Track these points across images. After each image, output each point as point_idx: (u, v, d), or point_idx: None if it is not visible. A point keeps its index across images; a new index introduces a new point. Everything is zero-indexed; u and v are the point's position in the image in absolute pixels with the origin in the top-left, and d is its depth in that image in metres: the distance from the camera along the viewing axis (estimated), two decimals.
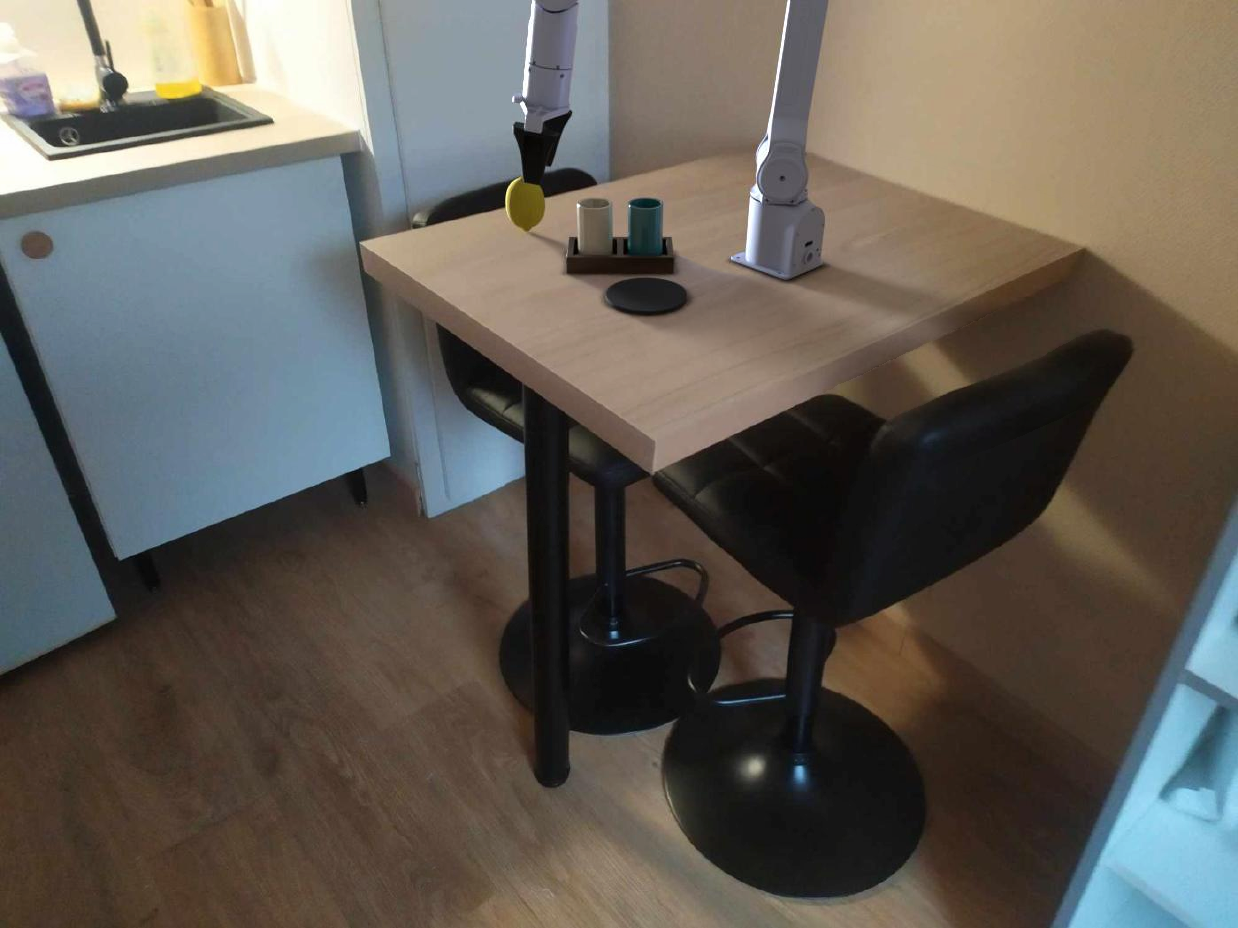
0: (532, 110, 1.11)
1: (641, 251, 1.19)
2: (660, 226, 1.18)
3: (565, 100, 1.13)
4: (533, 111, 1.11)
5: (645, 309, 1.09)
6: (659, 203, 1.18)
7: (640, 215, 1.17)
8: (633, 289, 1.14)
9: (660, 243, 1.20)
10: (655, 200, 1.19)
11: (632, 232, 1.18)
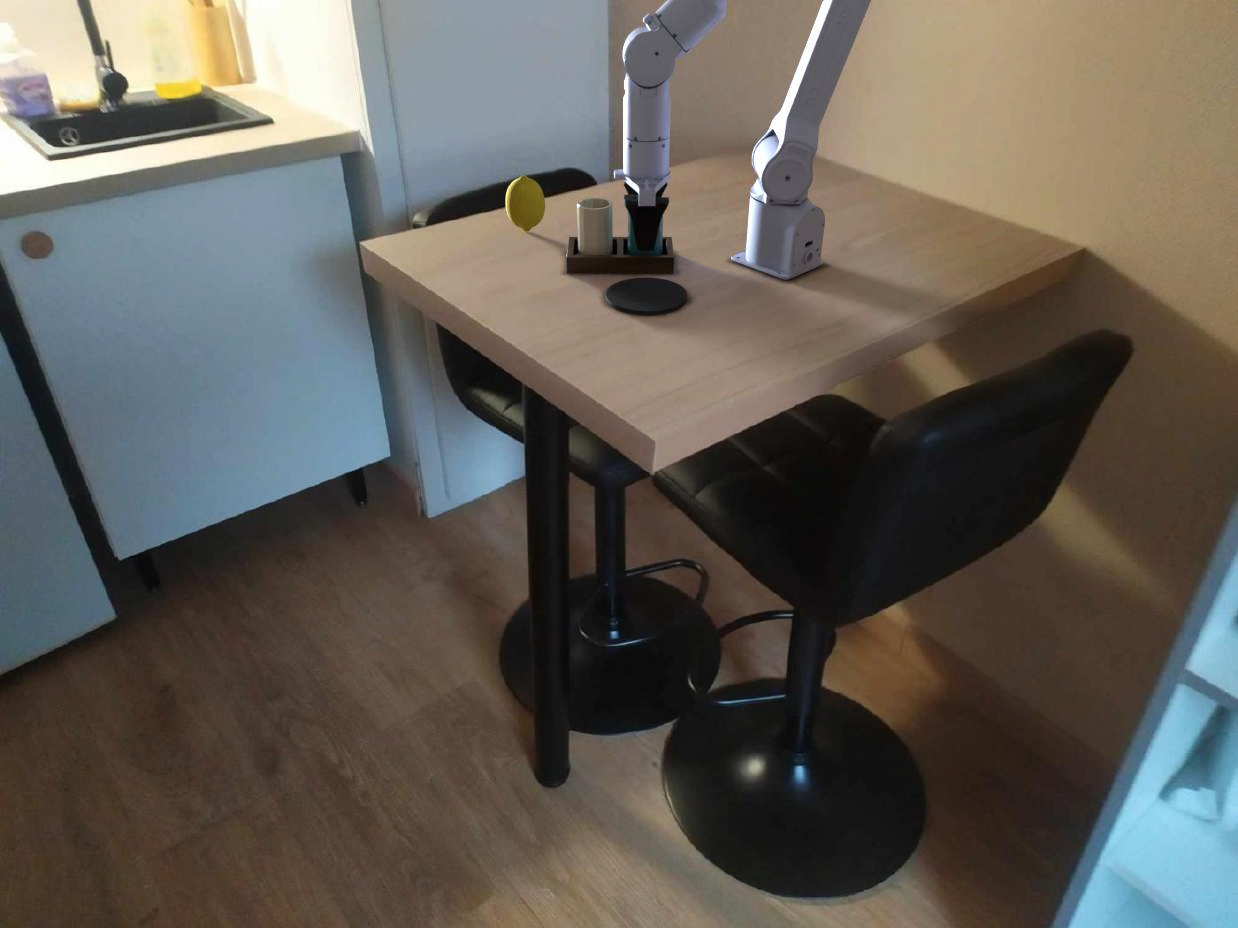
0: (641, 185, 1.12)
1: (641, 252, 1.19)
2: (660, 226, 1.18)
3: (667, 168, 1.14)
4: (642, 185, 1.12)
5: (645, 309, 1.09)
6: None
7: None
8: (633, 289, 1.14)
9: (660, 243, 1.20)
10: None
11: (632, 232, 1.18)
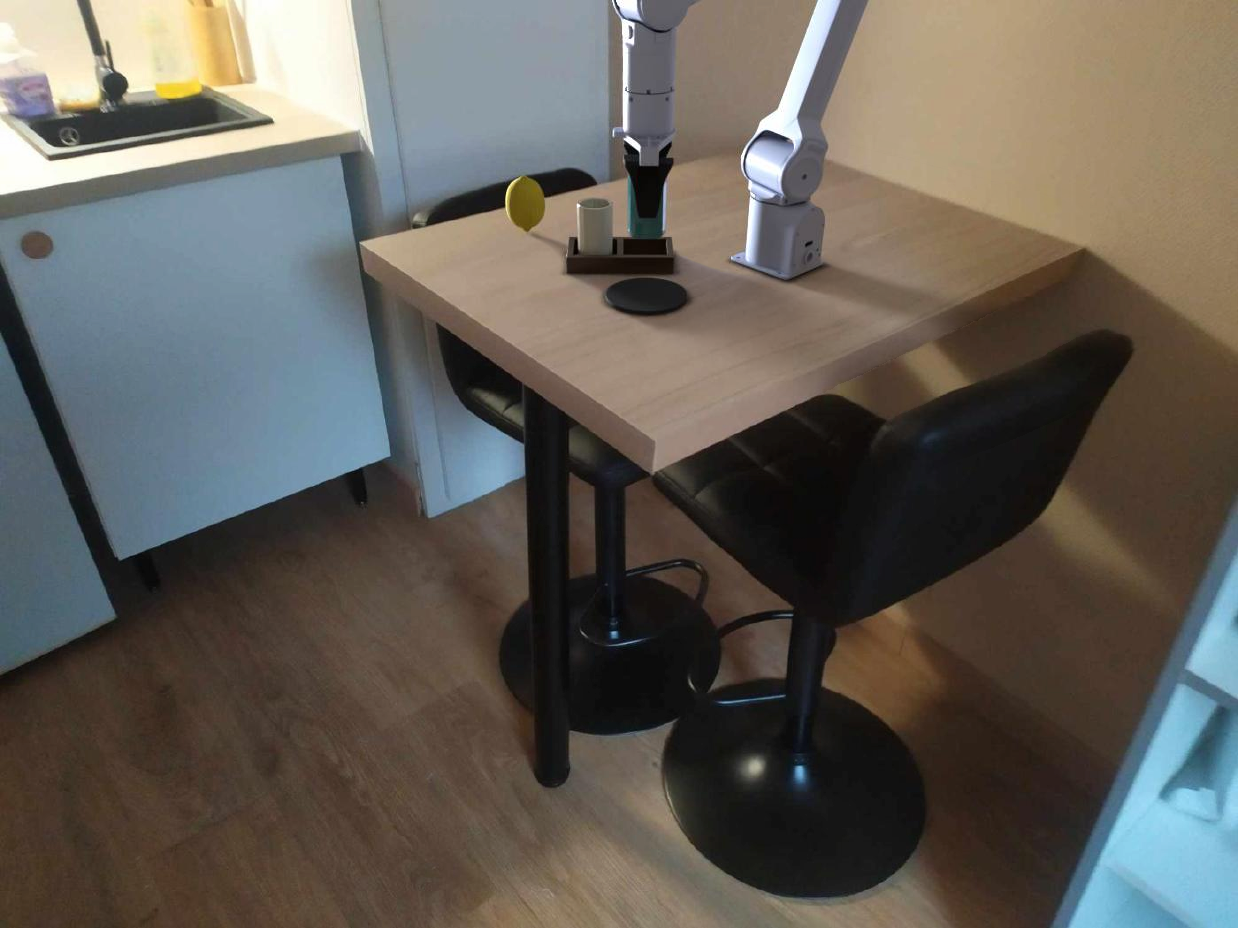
0: (642, 143, 1.00)
1: (642, 219, 1.08)
2: (663, 191, 1.07)
3: (671, 125, 1.03)
4: (644, 143, 1.00)
5: (645, 309, 1.09)
6: None
7: None
8: (633, 289, 1.14)
9: (663, 210, 1.08)
10: None
11: (632, 198, 1.07)
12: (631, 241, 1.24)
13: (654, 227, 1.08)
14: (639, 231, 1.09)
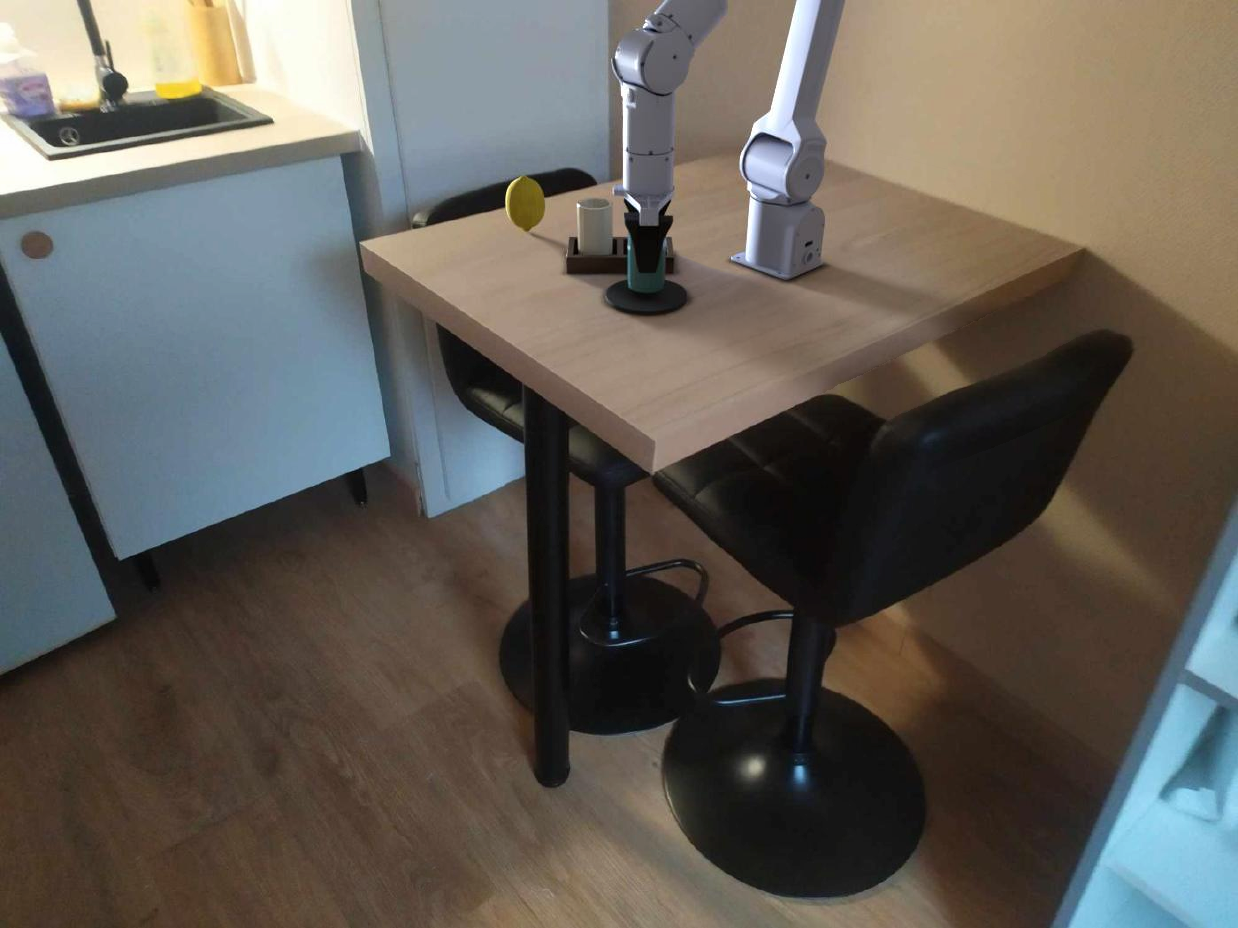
0: (642, 202, 1.02)
1: (642, 274, 1.09)
2: (663, 246, 1.08)
3: (671, 183, 1.04)
4: (643, 203, 1.02)
5: (645, 309, 1.09)
6: None
7: None
8: None
9: (663, 265, 1.10)
10: None
11: (632, 253, 1.08)
12: None
13: (653, 281, 1.10)
14: (639, 285, 1.10)
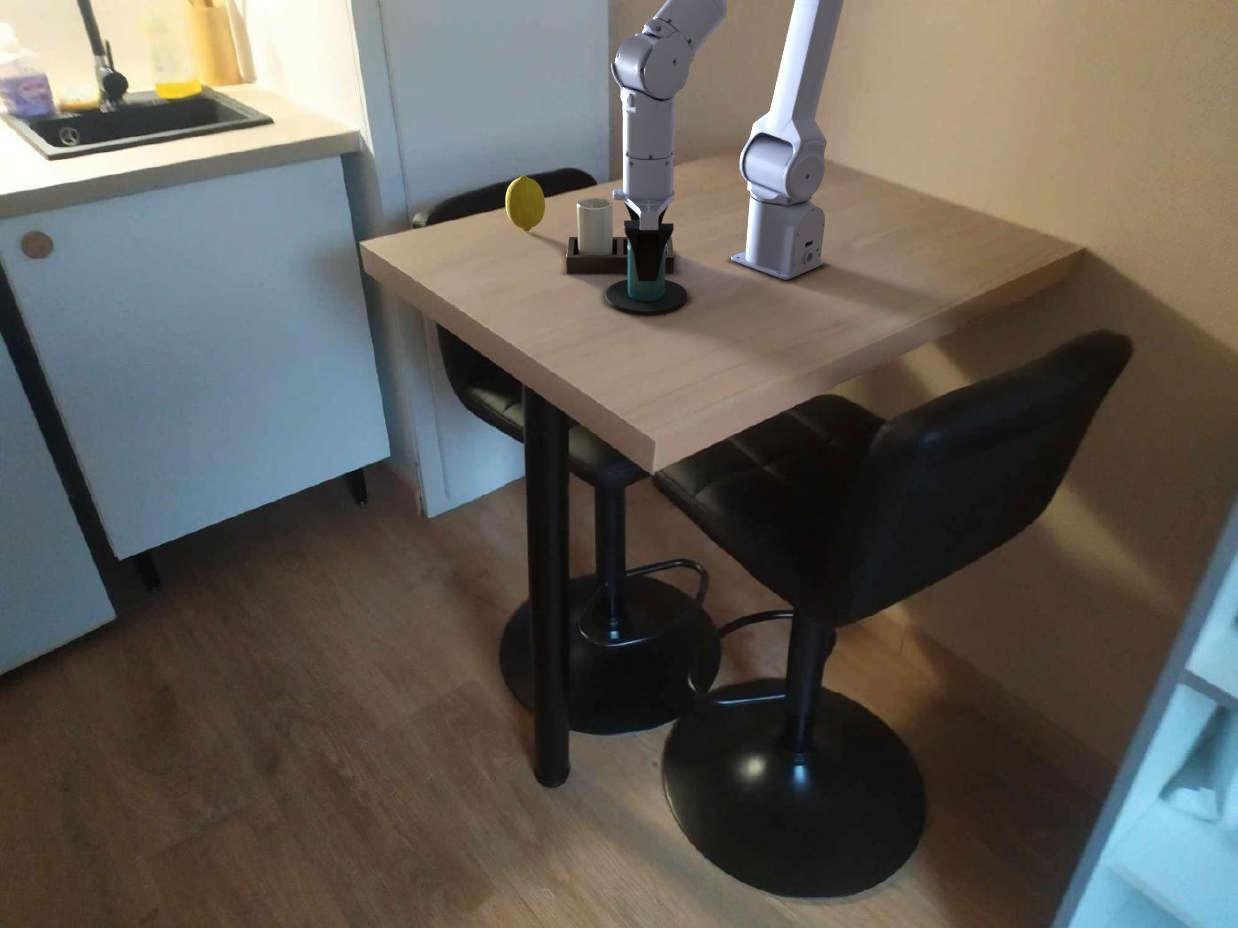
0: (642, 207, 1.02)
1: (642, 282, 1.10)
2: (663, 255, 1.09)
3: (671, 187, 1.04)
4: (643, 207, 1.02)
5: (645, 309, 1.09)
6: None
7: None
8: None
9: (662, 273, 1.10)
10: None
11: (632, 262, 1.09)
12: None
13: (653, 290, 1.10)
14: (639, 293, 1.11)
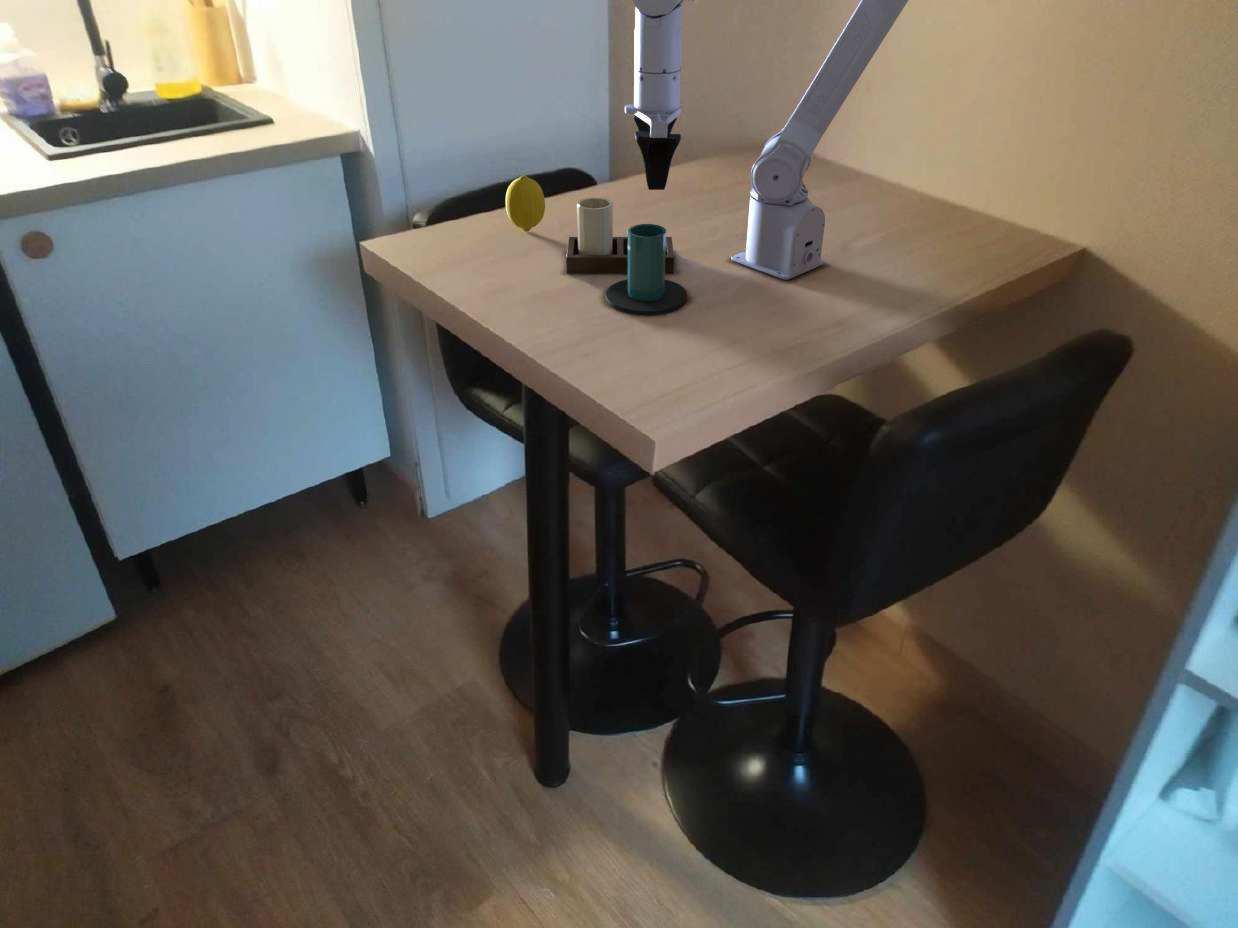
0: (652, 117, 1.12)
1: (642, 282, 1.10)
2: (663, 255, 1.09)
3: (678, 101, 1.14)
4: (653, 118, 1.12)
5: (645, 309, 1.09)
6: (661, 230, 1.09)
7: (641, 244, 1.07)
8: None
9: (662, 273, 1.10)
10: (657, 227, 1.10)
11: (632, 262, 1.09)
12: None
13: (653, 290, 1.10)
14: (639, 293, 1.11)
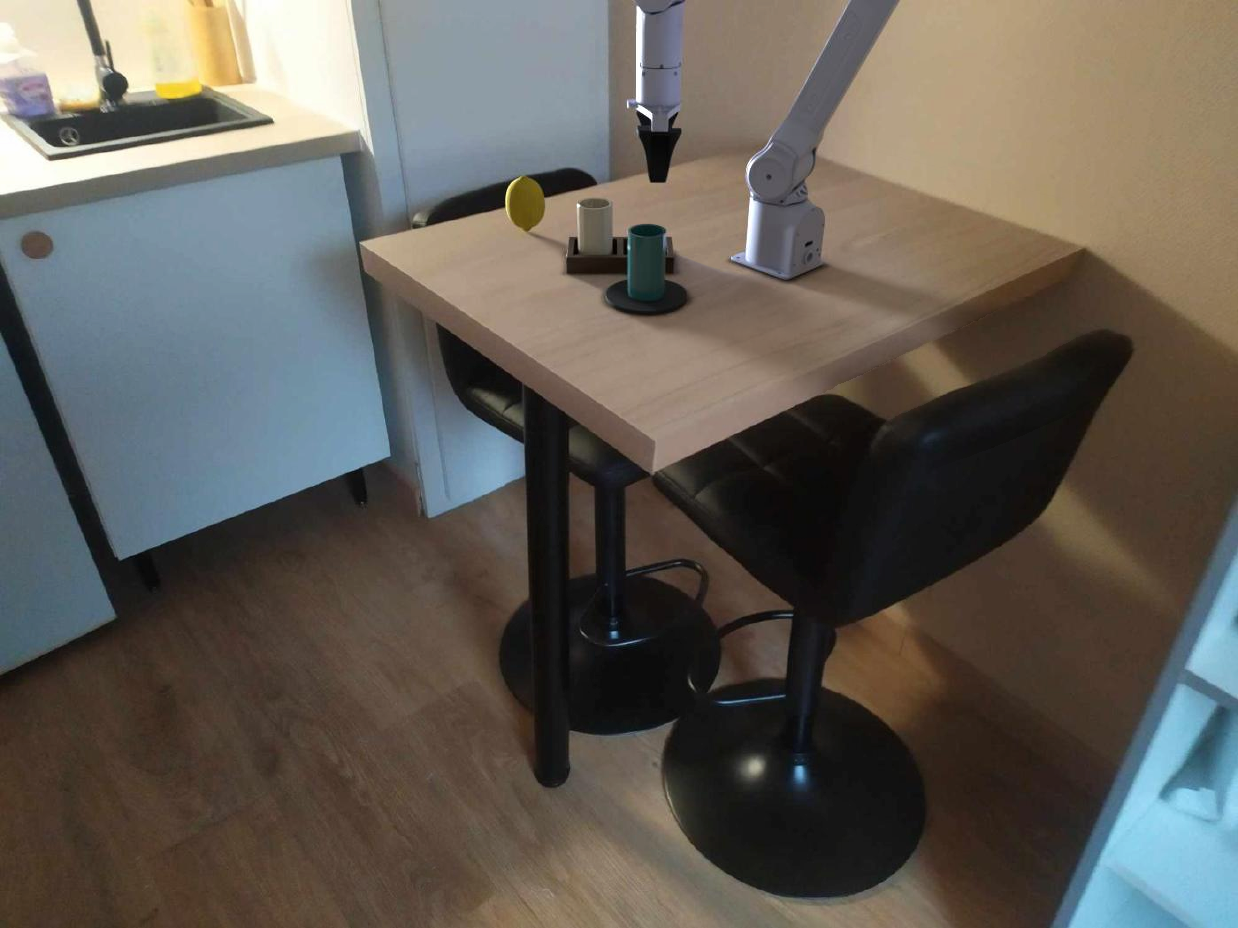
0: (653, 111, 1.15)
1: (642, 282, 1.10)
2: (663, 255, 1.09)
3: (679, 96, 1.17)
4: (655, 112, 1.15)
5: (645, 309, 1.09)
6: (661, 230, 1.09)
7: (641, 244, 1.07)
8: None
9: (662, 273, 1.10)
10: (657, 227, 1.10)
11: (632, 262, 1.09)
12: None
13: (653, 290, 1.10)
14: (639, 293, 1.11)
